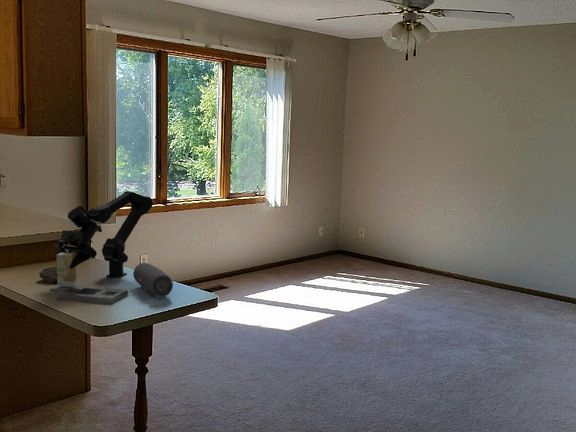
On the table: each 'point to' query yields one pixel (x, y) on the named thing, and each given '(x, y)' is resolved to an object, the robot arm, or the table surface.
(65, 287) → the pad
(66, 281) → the skincare box
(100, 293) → the grey black flat block
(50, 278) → the concrete sample
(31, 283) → the table surface
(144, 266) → the bluetooth speaker
